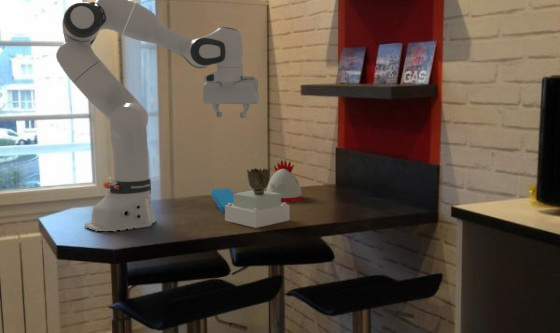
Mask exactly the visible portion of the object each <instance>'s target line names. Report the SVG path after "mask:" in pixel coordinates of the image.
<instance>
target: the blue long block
mask: <svg viewBox="0 0 560 333" xmlns="http://www.w3.org/2000/svg"><path fill="white" fill-rule="evenodd" d="M210 191H211V192H210V193H211V195H210V196H211V198H212V199H213V202H214V204H216V206H217V207H218V209H219V211H220V212H221V213H225V206H226V205H228V203H232V204H233V194H234V193H233V191H232V190H231V188H217V189H215V188H213V189H211V190H210Z"/></svg>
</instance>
